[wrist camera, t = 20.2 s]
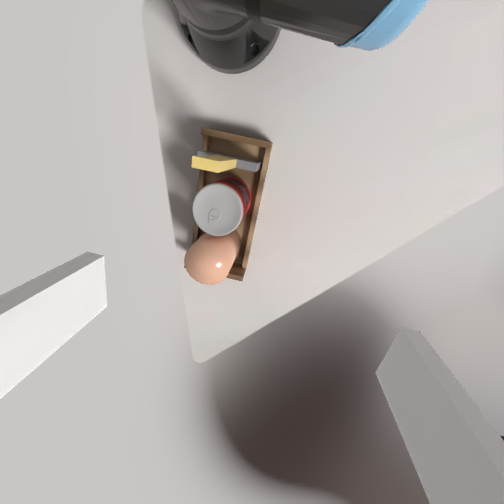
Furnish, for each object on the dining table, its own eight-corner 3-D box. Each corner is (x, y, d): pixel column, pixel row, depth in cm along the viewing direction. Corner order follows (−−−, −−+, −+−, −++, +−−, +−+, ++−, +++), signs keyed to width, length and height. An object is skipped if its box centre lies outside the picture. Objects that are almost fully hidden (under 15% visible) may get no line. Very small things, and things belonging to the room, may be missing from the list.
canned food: (209, 213, 47) (189, 230, 37) (214, 172, 44) (194, 177, 33) (247, 222, 46) (237, 241, 36) (255, 180, 43) (247, 189, 33)
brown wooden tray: (207, 129, 41) (197, 125, 36) (272, 143, 41) (271, 141, 36) (194, 256, 51) (184, 267, 46) (246, 268, 51) (241, 281, 46)
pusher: (210, 151, 42) (164, 149, 26) (261, 162, 42) (247, 167, 25) (209, 158, 42) (164, 161, 26) (259, 169, 42) (245, 179, 26)
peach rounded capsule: (207, 219, 47) (186, 237, 37) (244, 227, 47) (233, 248, 37) (203, 253, 50) (182, 278, 40) (237, 261, 50) (226, 289, 40)
